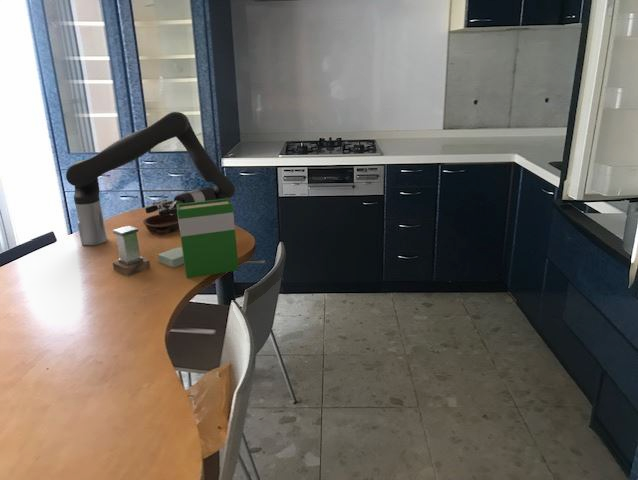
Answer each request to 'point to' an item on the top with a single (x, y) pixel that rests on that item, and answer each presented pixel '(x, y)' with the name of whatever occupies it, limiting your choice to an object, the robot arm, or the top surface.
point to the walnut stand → (131, 267)
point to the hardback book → (208, 237)
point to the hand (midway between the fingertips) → (152, 212)
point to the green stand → (172, 257)
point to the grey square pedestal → (128, 245)
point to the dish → (162, 224)
